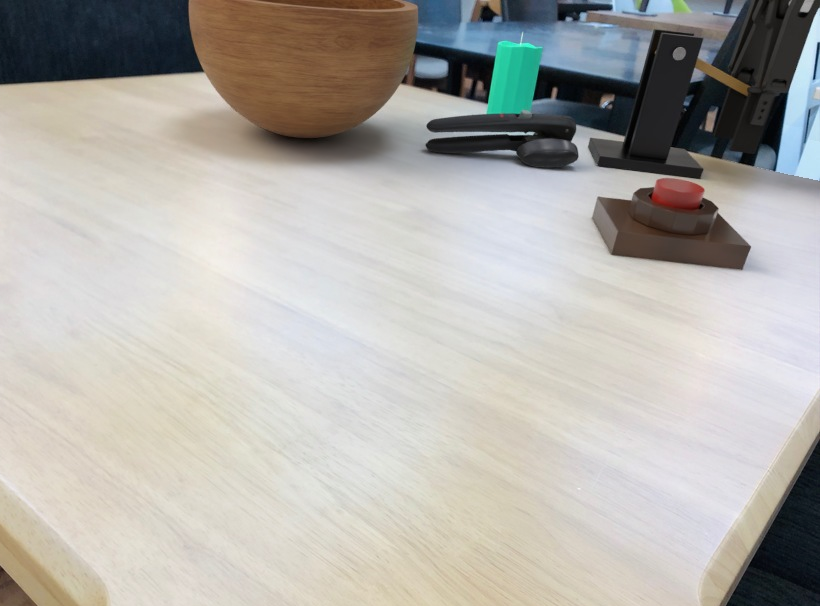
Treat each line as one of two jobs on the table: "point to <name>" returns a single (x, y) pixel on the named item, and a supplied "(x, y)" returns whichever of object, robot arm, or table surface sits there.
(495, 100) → the candle
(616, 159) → the bracket
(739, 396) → the table surface
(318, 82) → the bowl
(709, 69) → the lever
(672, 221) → the button block
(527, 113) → the can opener
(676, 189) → the button
